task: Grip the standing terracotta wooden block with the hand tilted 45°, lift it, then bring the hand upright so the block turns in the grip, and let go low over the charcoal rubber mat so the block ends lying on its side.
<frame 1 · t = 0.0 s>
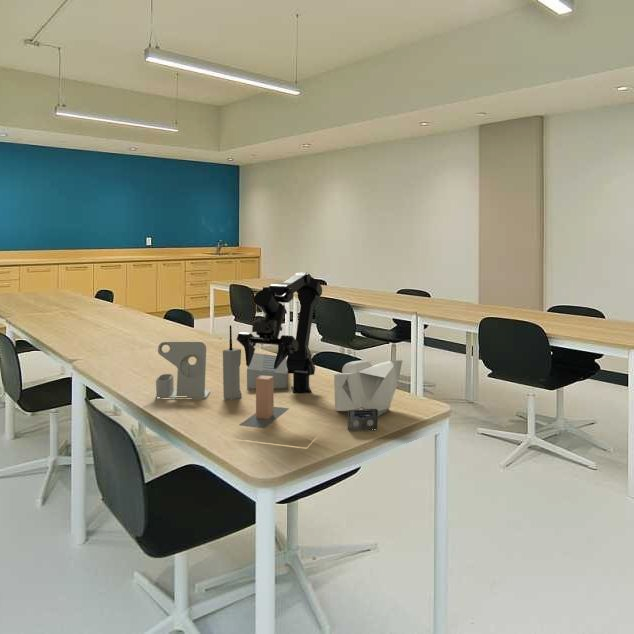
hand: (261, 367, 171), 15 cm above the table, tool tilted 35°, fingers open, 9 cm apart
charcoal mat: (265, 417, 171), on the table
mini dv tape: (362, 430, 161), on the table
phone holder: (183, 395, 195), on the table
vintage mobile phone: (232, 399, 191), on the table
warehouse: (268, 379, 219), on the table
terracotta block: (264, 416, 171), resting on charcoal mat
folded paper: (375, 412, 178), on the table
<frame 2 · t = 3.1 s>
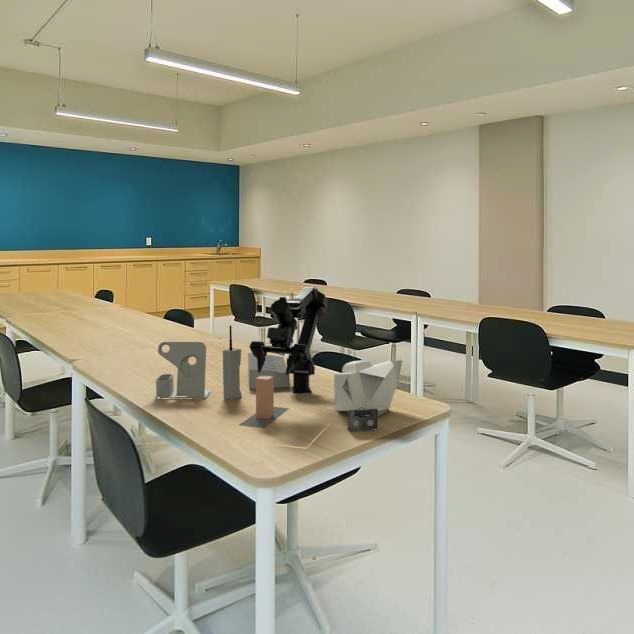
hand: (272, 373, 175), 12 cm above the table, tool tilted 45°, fingers open, 9 cm apart
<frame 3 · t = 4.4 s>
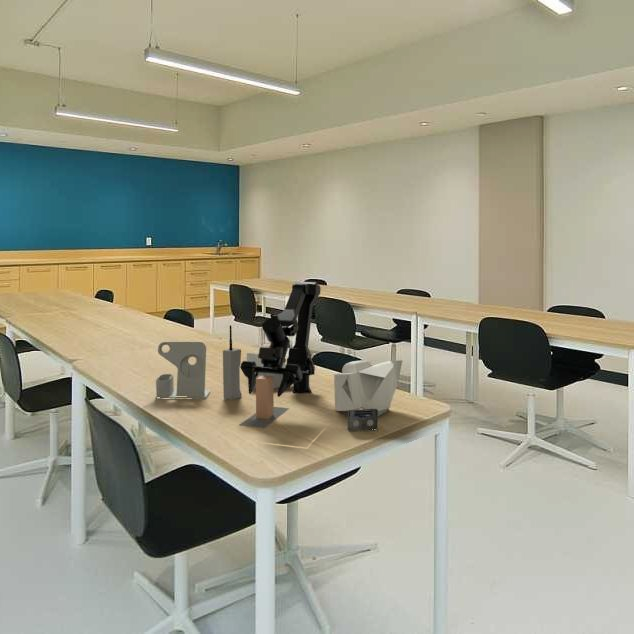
hand: (263, 394, 169), 7 cm above the table, tool tilted 45°, fingers open, 9 cm apart
nothing on the table moved.
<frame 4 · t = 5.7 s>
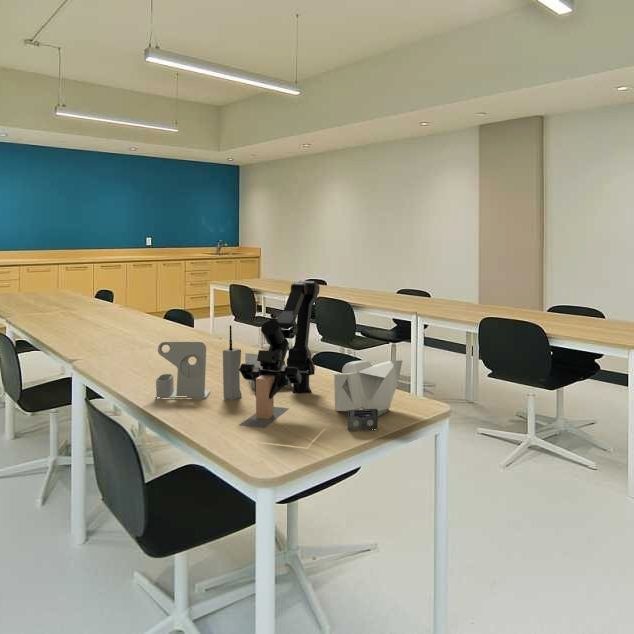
hand: (262, 397, 169), 7 cm above the table, tool tilted 45°, fingers closed on terracotta block, 4 cm apart
terracotta block: (264, 416, 171), resting on charcoal mat, touching gripper
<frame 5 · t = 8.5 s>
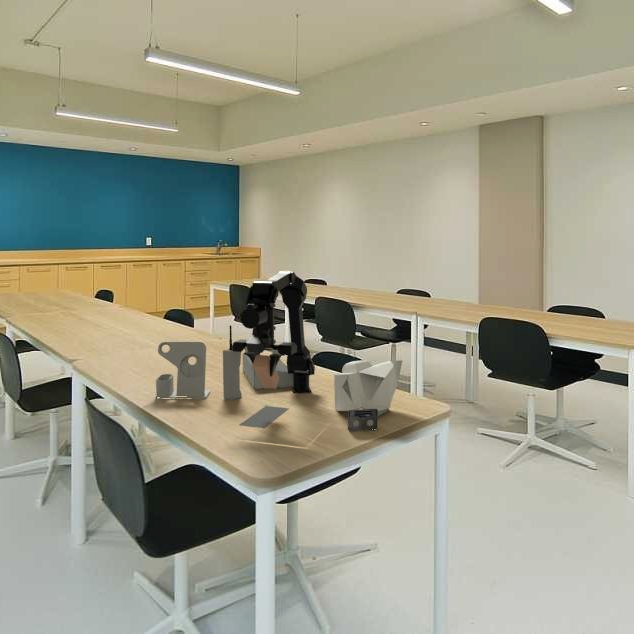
hand: (264, 375, 169), 13 cm above the table, tool pointing down, fingers closed on terracotta block, 4 cm apart
terracotta block: (271, 382, 175), point 10 cm above the table, tilted 45°, touching gripper
when the fingers open (10 cm above the table, at t = 10.7 s): terracotta block drops 4 cm and tips over, resting on charcoal mat.
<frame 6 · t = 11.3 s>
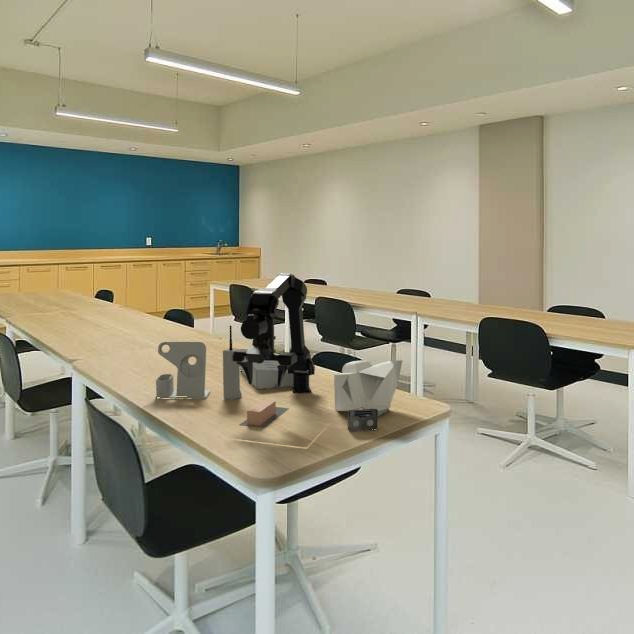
hand: (264, 385, 170), 10 cm above the table, tool pointing down, fingers open, 9 cm apart
terracotta block: (269, 406, 174), point 2 cm above the table, tilted 90°, touching charcoal mat
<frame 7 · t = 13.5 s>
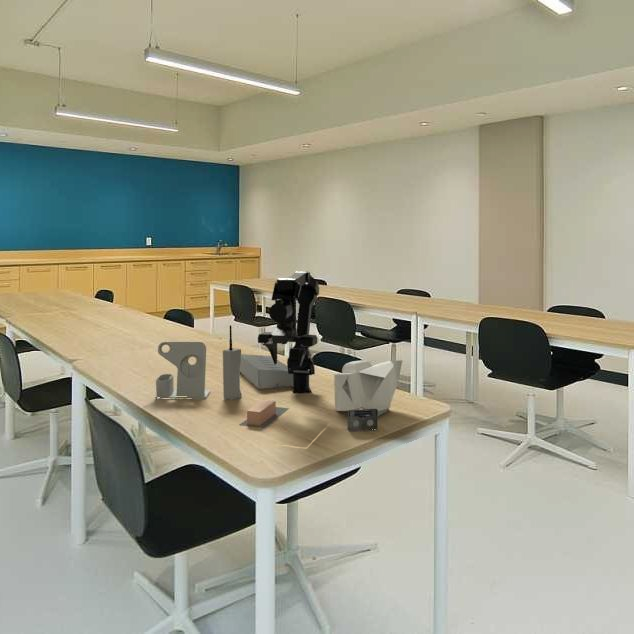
hand: (287, 365, 184), 13 cm above the table, tool pointing down, fingers open, 8 cm apart
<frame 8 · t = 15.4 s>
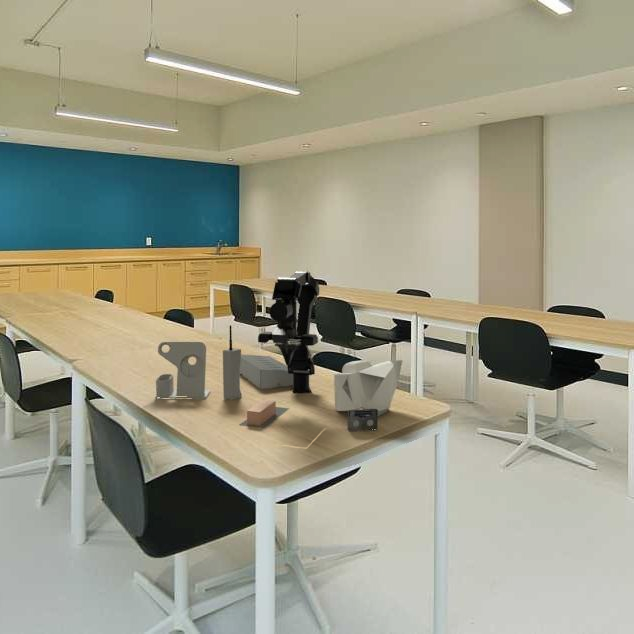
hand: (287, 364, 184), 13 cm above the table, tool pointing down, fingers closed
at the end: terracotta block tilted 90°; terracotta block inside the target area on the charcoal mat (3.5 cm from its centre), point 2.4 cm above the charcoal mat's base; the gripper is holding nothing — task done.
